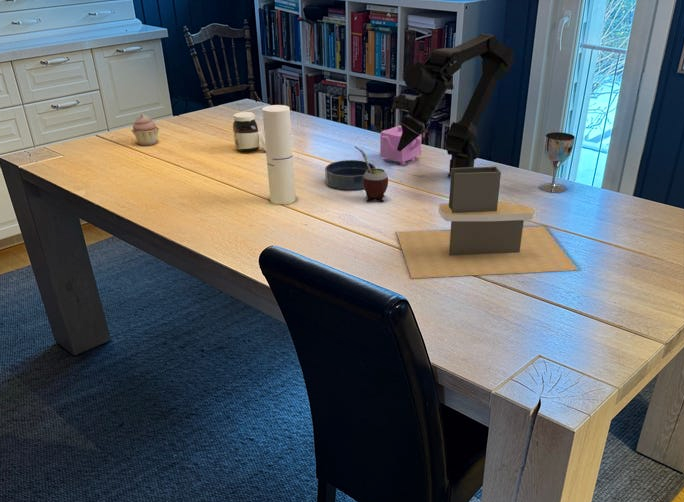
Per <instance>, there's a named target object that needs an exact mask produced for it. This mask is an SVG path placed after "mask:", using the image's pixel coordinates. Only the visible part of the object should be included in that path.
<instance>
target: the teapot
mask: <svg viewBox="0 0 684 502" xmlns="http://www.w3.org/2000/svg"><path fill="white" fill-rule="evenodd" d="M379 134H380V138H379V139H380V142H379V143H380V146H379V147H380V150H379V152H380V153H379V154H380V155H379V157H380V158H382V159H385V161H386V162H393V161H395V162H398V165H401V166H403V165H406V164H407V163H406V162H407V161H412V162H414V161H416V158H415V157H418V156H421V155H422V138H423V137H422V134H423V133H422V134H421V135H419V136H418V137H417V138H416V139H415V140H413V141H412V142H411V143H410V144H409V145H407V146H406V147H405V148H404V149H403V150H401V151H400V152H399V151H398V150H397V147H398V144H399V141H400V138H401V135H402V127H401V124H400V125H396V126H394V127H391V128H389V129H383V130H382V131H381V132H380V133H379Z"/></svg>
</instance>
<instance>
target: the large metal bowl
mask: <svg viewBox="0 0 684 502" xmlns="http://www.w3.org/2000/svg"><path fill="white" fill-rule="evenodd" d="M368 164H369V166H370V169H373V168H376V167H377V166H375V164H373V163H371V162H369V161H368ZM367 170H369V169H368V167H367V164H366V161H365V160H357V159H346V160H345V159H344V160H338V161H334V162H331V163H328V164H327V165H326V166H325V168H324V176H325V177H324V179H325V183H326V184H327V186H329V187H331V188H334V189H338V190H345V191H346V190H349V191H350V190H353V191H354V190H361V189H364V186H363V178H364V174H365V172H366V171H367Z"/></svg>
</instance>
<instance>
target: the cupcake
mask: <svg viewBox="0 0 684 502" xmlns="http://www.w3.org/2000/svg"><path fill="white" fill-rule="evenodd" d="M159 130H160V129H159V127H158V126H157V124H156V122H155V121H154V120H153V119H151V118H150V117H149V116H148V115H146V114H143V113H140V117H138V118H137V119H136V120H135V121H134V123H133V124H132V129H131V132H132V134H133V135H134V136H135V139H136V141H137V144H138V145H140V146H152V145H156V144H157V143H158V137H159Z"/></svg>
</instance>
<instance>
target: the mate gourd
mask: <svg viewBox="0 0 684 502" xmlns="http://www.w3.org/2000/svg"><path fill="white" fill-rule="evenodd" d="M354 148H355V149H356V150H357V151H359V152H360V153H361V154H362V157H363V159H364V161H365V162H366V164H367V167H368V169H369V170H367V171H366V172H365V174H364V178H363V186H364V188H363V189H364V191H365V194H366V198H367V199H366V202H367V203H370V202H373V201H377V202H380V203H384V201H385V200H384V198H385V193H386V191H387V189H388V187H389V176H388V173H387V172H386V170H384V169H383V168H373V169H370V166H369V164H368V162H369V161H368V159H367V155H366V153H365V152H364V151H363V150H362V149H361V148H359V147H358V146H356V145H354Z"/></svg>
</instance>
